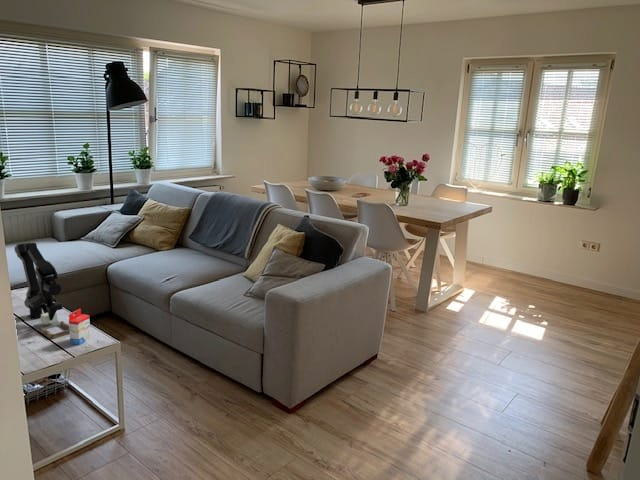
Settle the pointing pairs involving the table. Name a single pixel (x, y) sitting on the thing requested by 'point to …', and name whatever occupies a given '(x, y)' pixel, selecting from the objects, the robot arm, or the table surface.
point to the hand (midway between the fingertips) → (49, 318)
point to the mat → (48, 325)
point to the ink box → (79, 327)
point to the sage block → (46, 319)
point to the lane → (56, 333)
